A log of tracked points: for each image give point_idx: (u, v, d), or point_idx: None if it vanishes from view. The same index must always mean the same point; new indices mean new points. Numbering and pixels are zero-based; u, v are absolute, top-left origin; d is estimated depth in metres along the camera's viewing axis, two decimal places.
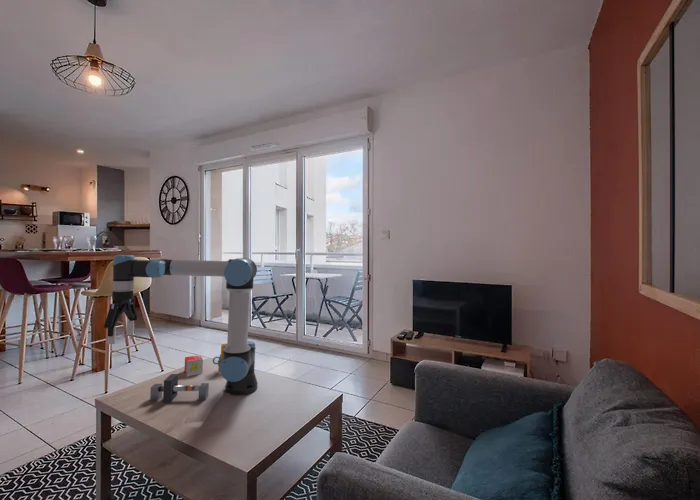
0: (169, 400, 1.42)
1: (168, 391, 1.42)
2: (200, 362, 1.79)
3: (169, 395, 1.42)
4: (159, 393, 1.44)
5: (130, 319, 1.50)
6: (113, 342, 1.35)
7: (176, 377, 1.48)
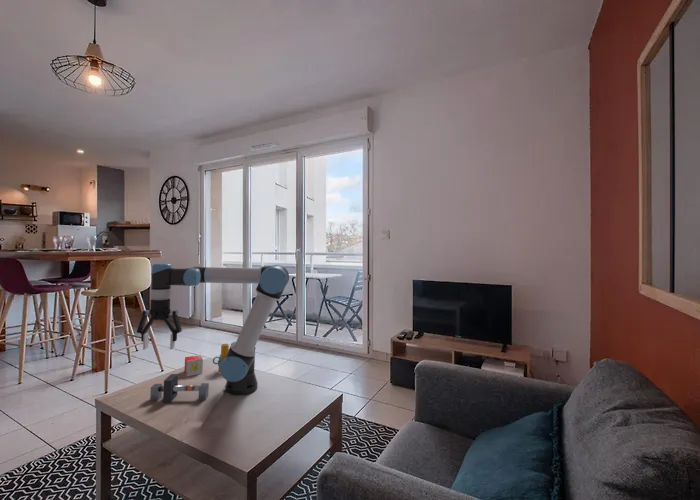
0: (169, 400, 1.42)
1: (168, 391, 1.42)
2: (200, 362, 1.79)
3: (169, 395, 1.42)
4: (159, 393, 1.44)
5: None
6: None
7: (176, 377, 1.48)
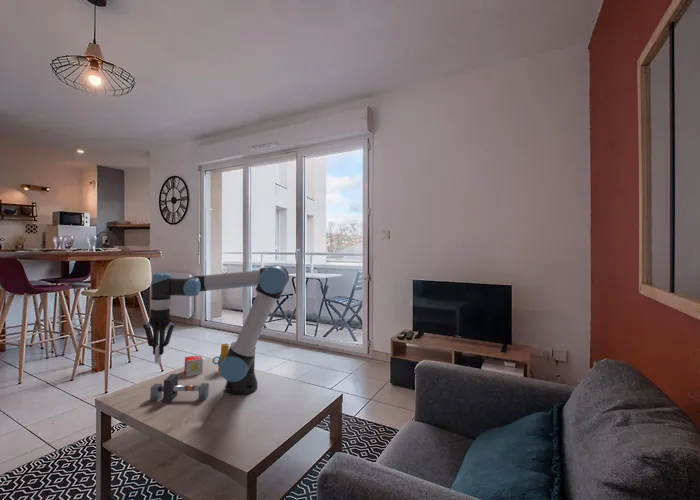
0: (169, 400, 1.42)
1: (168, 391, 1.42)
2: (200, 362, 1.79)
3: (169, 395, 1.42)
4: (159, 393, 1.44)
5: None
6: None
7: (176, 377, 1.48)
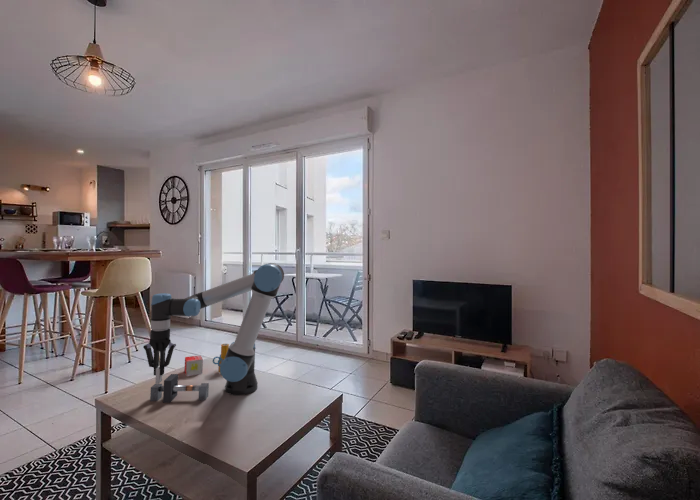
0: (169, 400, 1.42)
1: (168, 391, 1.42)
2: (200, 362, 1.79)
3: (169, 395, 1.42)
4: (159, 393, 1.44)
5: None
6: None
7: (176, 377, 1.48)
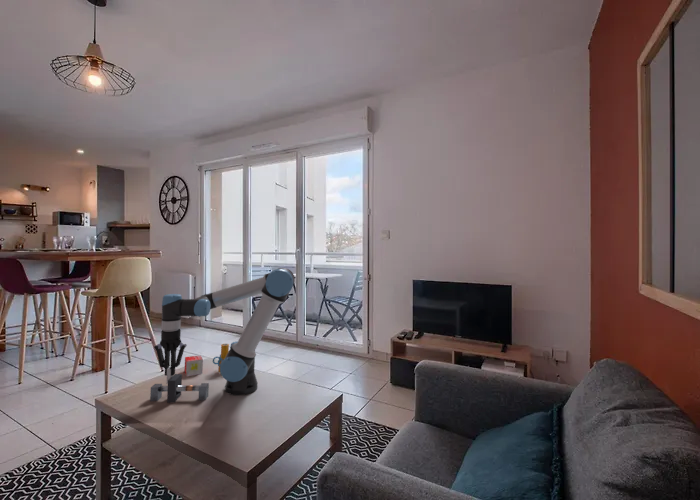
0: (173, 400, 1.42)
1: (172, 391, 1.42)
2: (200, 362, 1.79)
3: (173, 395, 1.42)
4: (159, 393, 1.44)
5: None
6: None
7: (180, 377, 1.48)
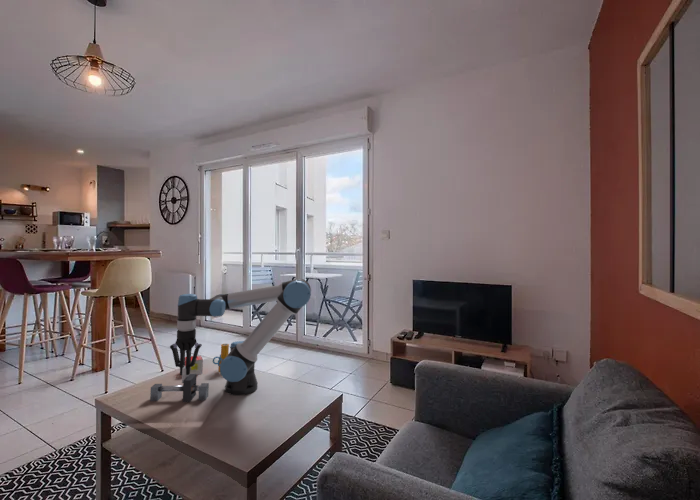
0: (188, 400, 1.43)
1: (188, 391, 1.43)
2: (200, 362, 1.79)
3: (188, 395, 1.43)
4: (159, 393, 1.44)
5: None
6: None
7: (195, 377, 1.49)
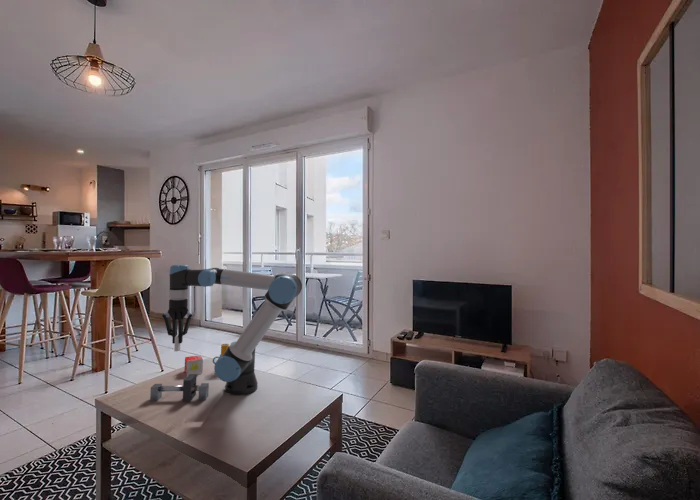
0: (188, 400, 1.43)
1: (188, 391, 1.43)
2: (200, 362, 1.79)
3: (188, 395, 1.43)
4: (159, 393, 1.44)
5: None
6: None
7: (195, 377, 1.49)
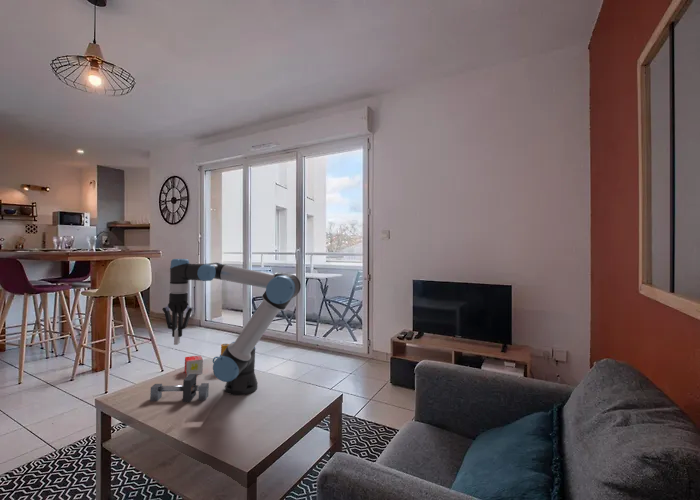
0: (188, 400, 1.43)
1: (188, 391, 1.43)
2: (200, 362, 1.79)
3: (188, 395, 1.43)
4: (159, 393, 1.44)
5: None
6: None
7: (195, 377, 1.49)
